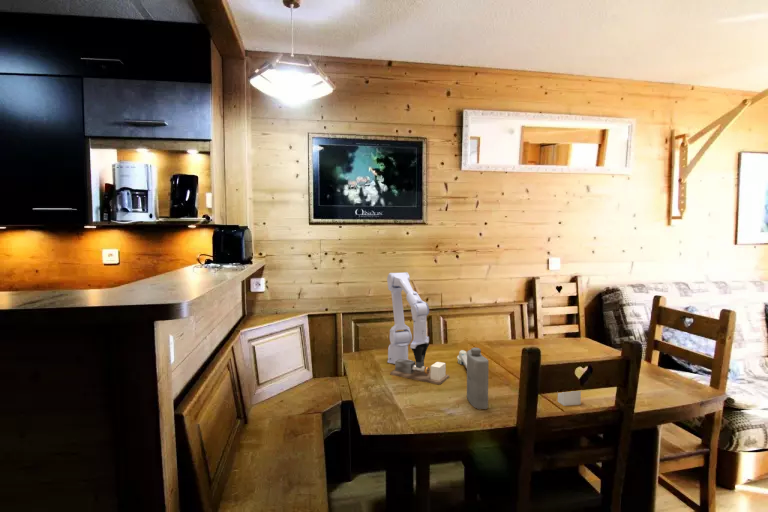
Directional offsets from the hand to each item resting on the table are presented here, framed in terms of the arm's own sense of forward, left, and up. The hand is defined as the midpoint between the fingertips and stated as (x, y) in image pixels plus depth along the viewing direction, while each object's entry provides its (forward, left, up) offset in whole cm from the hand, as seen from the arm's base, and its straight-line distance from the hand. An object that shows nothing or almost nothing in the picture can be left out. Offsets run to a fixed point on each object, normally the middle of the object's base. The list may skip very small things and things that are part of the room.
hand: (419, 360), depth 173 cm
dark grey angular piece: (-3, 0, -5) cm, 6 cm away
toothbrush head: (+15, +19, -7) cm, 25 cm away
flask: (+30, -13, -7) cm, 33 cm away
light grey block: (+60, +3, -7) cm, 60 cm away
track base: (0, 0, -7) cm, 7 cm away
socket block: (+9, 0, -7) cm, 11 cm away
